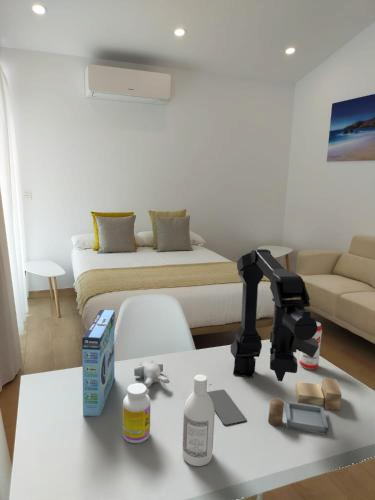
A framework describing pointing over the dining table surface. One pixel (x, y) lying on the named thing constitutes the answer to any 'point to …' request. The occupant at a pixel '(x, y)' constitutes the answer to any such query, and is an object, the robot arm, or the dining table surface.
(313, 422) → the tray
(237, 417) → the smartphone
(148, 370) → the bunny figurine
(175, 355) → the dining table surface
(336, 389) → the block
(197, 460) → the bath foam
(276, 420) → the dowel
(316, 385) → the tan beveled block
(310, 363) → the beer can
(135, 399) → the supplement bottle
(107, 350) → the light blue cardboard box
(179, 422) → the dining table surface
